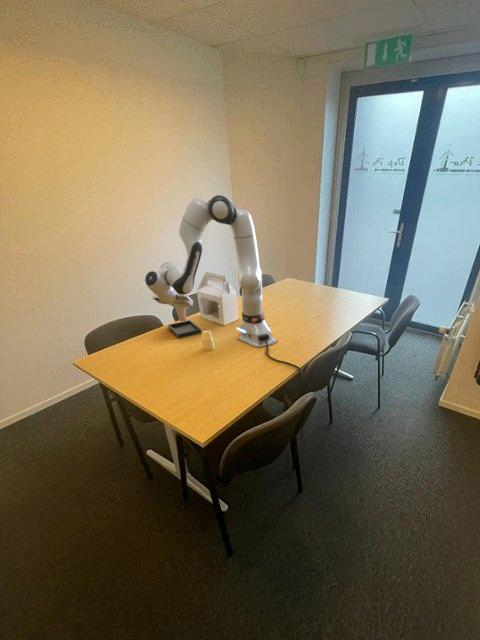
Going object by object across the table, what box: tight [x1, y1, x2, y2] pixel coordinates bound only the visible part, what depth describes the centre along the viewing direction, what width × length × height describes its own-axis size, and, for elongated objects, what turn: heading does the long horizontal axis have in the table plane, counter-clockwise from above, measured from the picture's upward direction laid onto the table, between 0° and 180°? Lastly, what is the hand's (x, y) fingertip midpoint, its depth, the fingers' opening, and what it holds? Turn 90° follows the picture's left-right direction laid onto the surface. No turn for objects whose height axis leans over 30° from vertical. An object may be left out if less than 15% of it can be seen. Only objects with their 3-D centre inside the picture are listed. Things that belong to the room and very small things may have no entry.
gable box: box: [196, 271, 239, 326], centre depth 186 cm, size 22×13×28 cm, turn 55°
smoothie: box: [174, 305, 187, 322], centre depth 169 cm, size 6×6×14 cm
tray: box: [167, 319, 202, 339], centre depth 176 cm, size 17×14×2 cm
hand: (181, 306), depth 169 cm, fingers closed on smoothie, 6 cm apart
